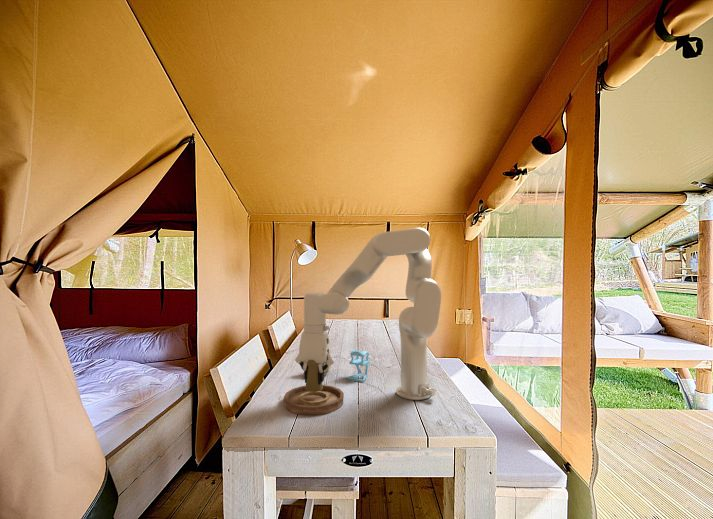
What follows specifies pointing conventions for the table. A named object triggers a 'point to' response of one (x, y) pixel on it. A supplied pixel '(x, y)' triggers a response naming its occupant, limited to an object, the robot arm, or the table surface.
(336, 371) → the table surface
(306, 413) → the ring tray
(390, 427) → the table surface
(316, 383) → the cork
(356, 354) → the chair
